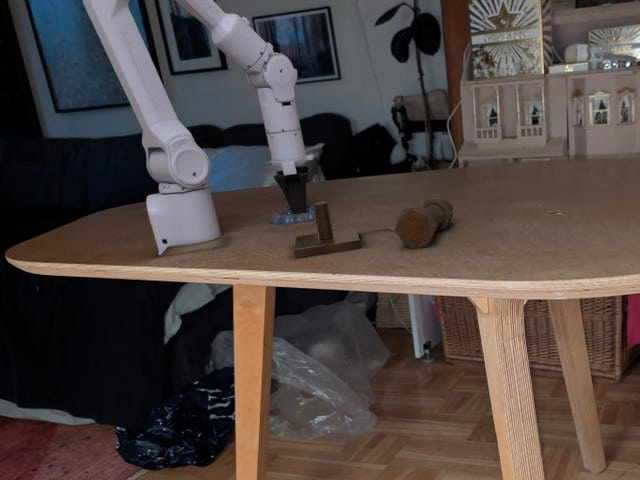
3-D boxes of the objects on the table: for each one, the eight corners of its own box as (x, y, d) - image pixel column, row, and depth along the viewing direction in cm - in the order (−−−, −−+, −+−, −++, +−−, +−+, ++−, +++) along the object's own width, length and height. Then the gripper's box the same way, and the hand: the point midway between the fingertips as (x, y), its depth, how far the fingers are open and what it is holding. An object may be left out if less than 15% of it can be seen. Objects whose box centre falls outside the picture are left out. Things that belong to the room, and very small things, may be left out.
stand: (296, 258, 96) (286, 213, 94) (297, 244, 105) (288, 202, 102) (361, 247, 98) (353, 203, 95) (357, 235, 106) (350, 194, 104)
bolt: (451, 233, 108) (423, 256, 94) (422, 219, 108) (390, 239, 95) (466, 199, 106) (439, 217, 92) (436, 184, 106) (405, 200, 92)
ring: (270, 234, 114) (267, 219, 113) (273, 223, 123) (270, 209, 122) (331, 225, 116) (329, 210, 115) (330, 215, 125) (327, 201, 124)
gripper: (307, 130, 111) (323, 215, 117) (307, 126, 124) (322, 202, 130) (262, 136, 110) (280, 222, 115) (267, 131, 123) (283, 208, 129)
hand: (300, 212), depth 122 cm, fingers open, 6 cm apart
